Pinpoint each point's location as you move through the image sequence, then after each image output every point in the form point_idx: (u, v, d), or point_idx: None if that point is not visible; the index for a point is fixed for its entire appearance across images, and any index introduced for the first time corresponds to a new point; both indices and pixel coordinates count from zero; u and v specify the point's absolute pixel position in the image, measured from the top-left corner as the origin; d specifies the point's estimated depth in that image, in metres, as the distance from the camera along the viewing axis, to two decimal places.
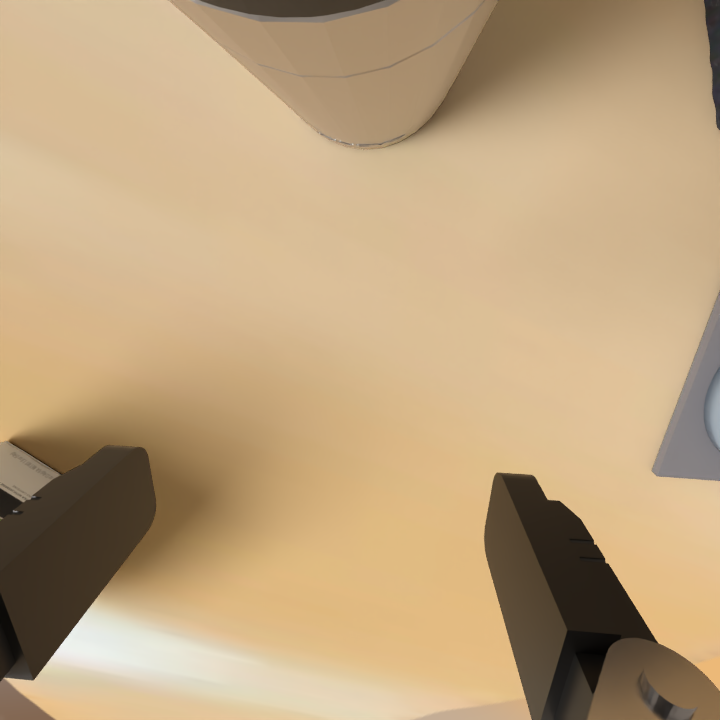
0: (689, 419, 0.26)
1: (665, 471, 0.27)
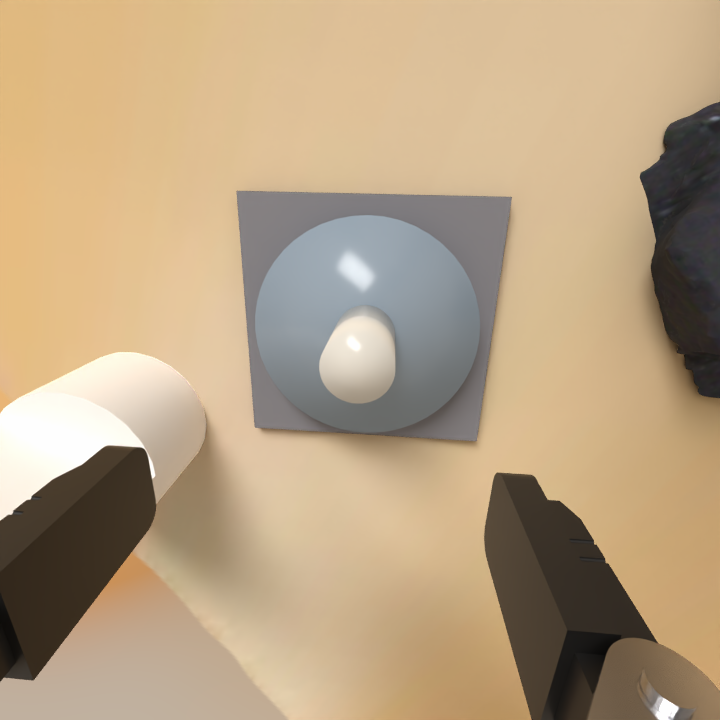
0: (323, 206, 0.21)
1: (245, 200, 0.21)
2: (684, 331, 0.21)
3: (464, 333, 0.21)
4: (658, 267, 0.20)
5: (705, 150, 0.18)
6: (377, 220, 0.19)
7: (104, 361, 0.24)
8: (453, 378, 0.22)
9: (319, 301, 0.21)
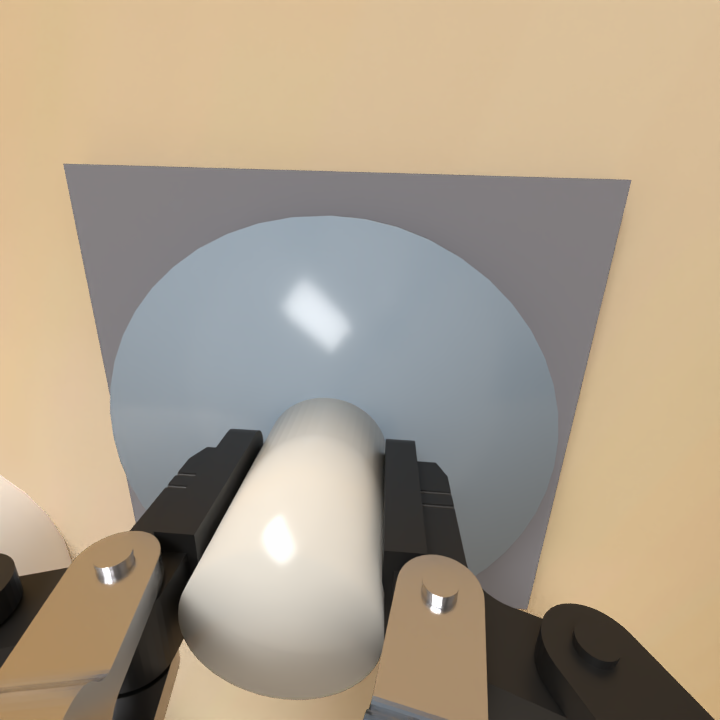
0: (239, 196, 0.10)
1: (83, 183, 0.10)
2: None
3: (525, 454, 0.10)
4: None
5: None
6: (346, 226, 0.09)
7: None
8: (498, 531, 0.11)
9: (234, 388, 0.10)
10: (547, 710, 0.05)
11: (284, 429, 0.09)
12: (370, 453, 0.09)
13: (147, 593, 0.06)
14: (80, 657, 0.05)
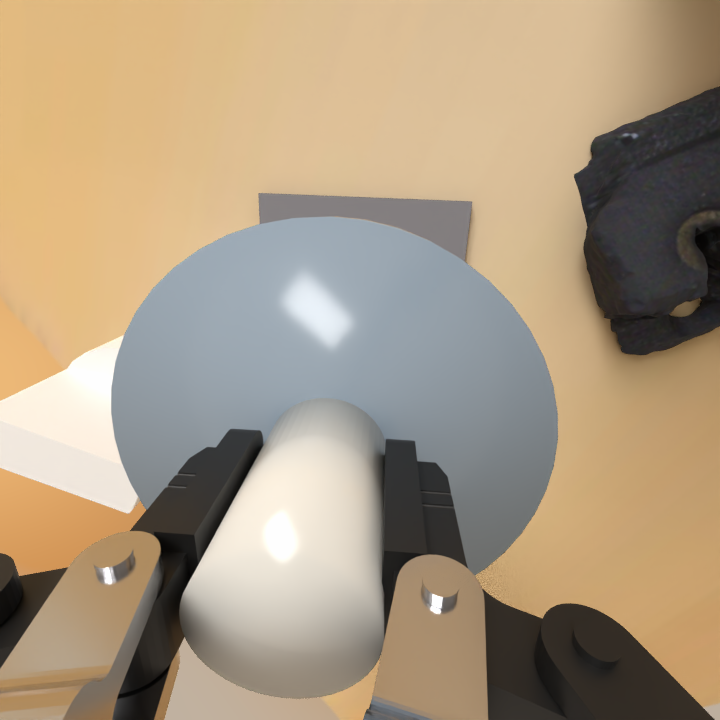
0: (326, 206, 0.27)
1: (265, 200, 0.27)
2: (606, 298, 0.27)
3: (524, 455, 0.11)
4: (587, 248, 0.26)
5: (618, 158, 0.24)
6: (347, 227, 0.09)
7: None
8: (498, 531, 0.11)
9: (234, 389, 0.10)
10: (547, 710, 0.05)
11: (284, 429, 0.09)
12: (370, 453, 0.09)
13: (147, 593, 0.06)
14: (80, 657, 0.05)
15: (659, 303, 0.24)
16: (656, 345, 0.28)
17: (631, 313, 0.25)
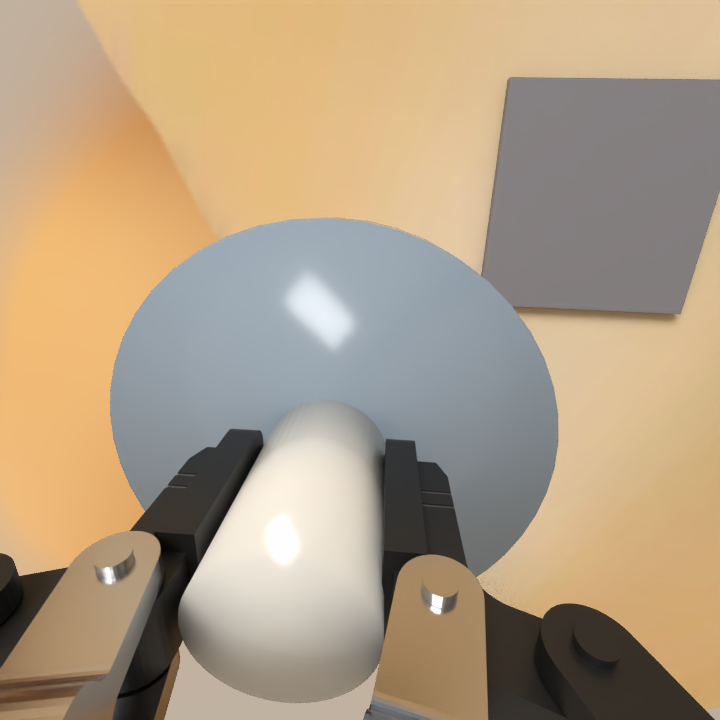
0: (585, 90, 0.24)
1: (516, 86, 0.24)
2: None
3: (525, 456, 0.10)
4: None
5: None
6: (347, 229, 0.09)
7: None
8: (498, 533, 0.11)
9: (233, 390, 0.10)
10: (547, 710, 0.05)
11: (284, 431, 0.09)
12: (370, 455, 0.09)
13: (147, 593, 0.06)
14: (80, 657, 0.05)
15: None
16: None
17: None
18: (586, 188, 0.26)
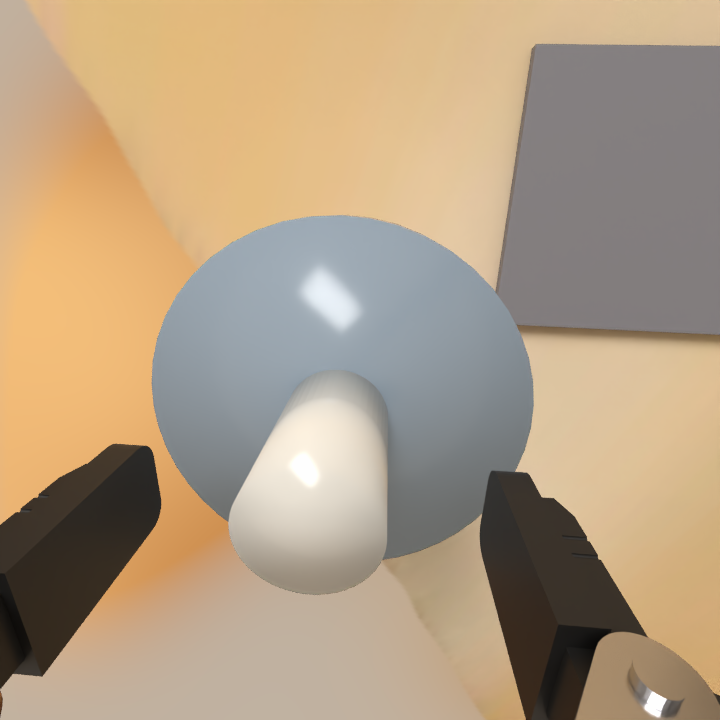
0: (629, 61, 0.19)
1: (543, 55, 0.20)
2: None
3: (505, 418, 0.12)
4: None
5: None
6: (355, 224, 0.11)
7: None
8: (484, 486, 0.13)
9: (258, 362, 0.12)
10: None
11: (303, 393, 0.11)
12: (375, 412, 0.11)
13: None
14: None
15: None
16: None
17: None
18: (627, 183, 0.21)
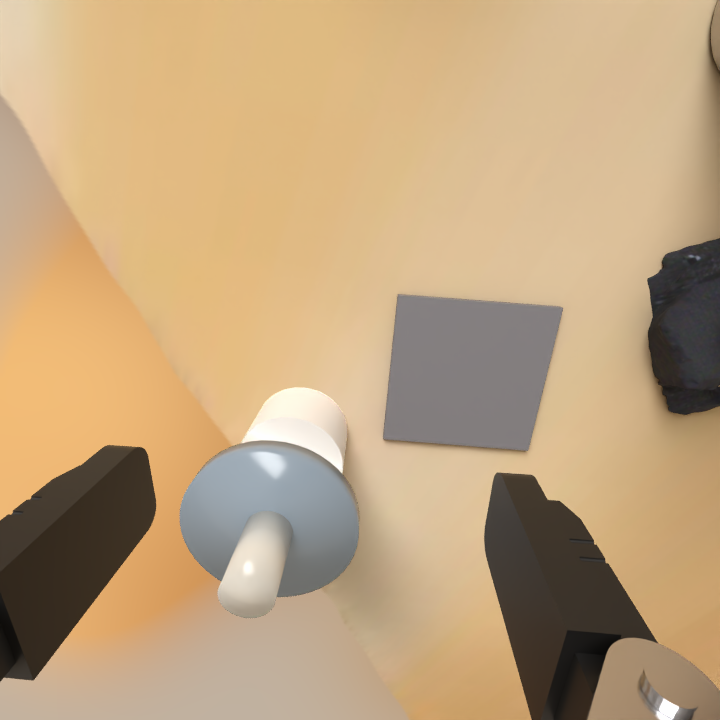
0: (450, 307, 0.34)
1: (402, 301, 0.34)
2: (664, 373, 0.35)
3: (346, 533, 0.27)
4: (652, 333, 0.34)
5: (685, 273, 0.32)
6: (275, 456, 0.25)
7: (295, 394, 0.36)
8: (340, 562, 0.28)
9: (231, 506, 0.26)
10: None
11: (251, 527, 0.25)
12: (281, 537, 0.25)
13: None
14: None
15: (708, 383, 0.32)
16: (696, 408, 0.36)
17: (687, 388, 0.33)
18: (455, 367, 0.36)
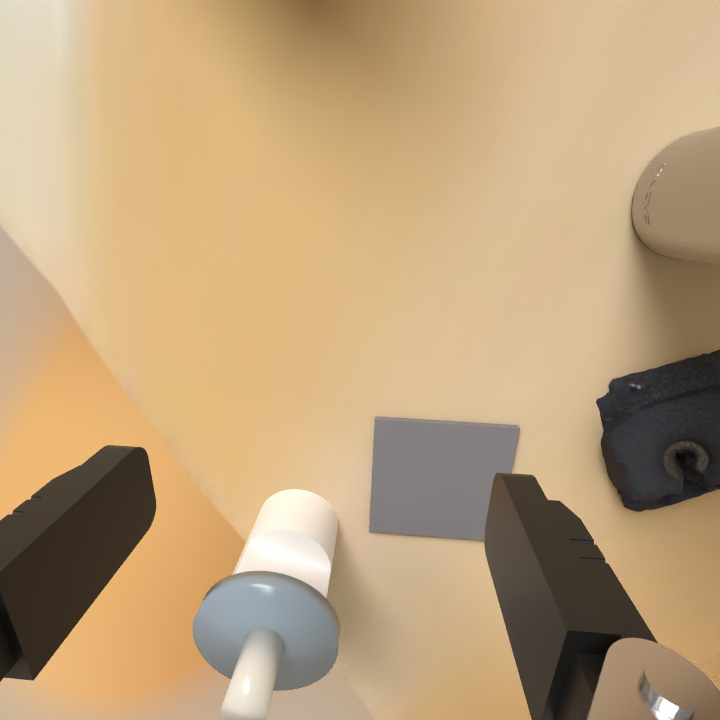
0: (420, 428, 0.39)
1: (379, 423, 0.40)
2: (615, 480, 0.39)
3: (327, 645, 0.32)
4: (604, 445, 0.39)
5: (627, 400, 0.36)
6: (265, 589, 0.31)
7: (290, 499, 0.42)
8: (324, 666, 0.33)
9: (233, 624, 0.32)
10: None
11: (248, 646, 0.31)
12: (273, 654, 0.31)
13: None
14: None
15: (651, 496, 0.36)
16: (648, 507, 0.40)
17: (632, 499, 0.37)
18: (428, 475, 0.41)
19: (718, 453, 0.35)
